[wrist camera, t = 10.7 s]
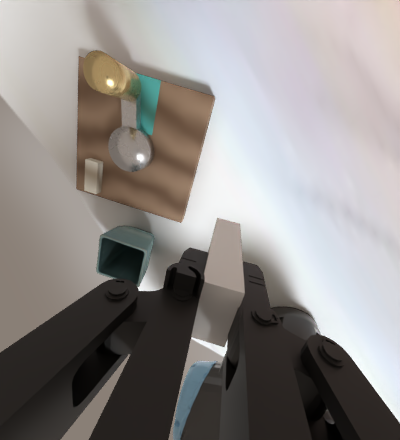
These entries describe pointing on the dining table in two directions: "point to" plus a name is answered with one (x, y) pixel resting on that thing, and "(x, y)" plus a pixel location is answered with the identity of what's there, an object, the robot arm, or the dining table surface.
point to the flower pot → (124, 253)
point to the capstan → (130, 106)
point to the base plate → (161, 137)
